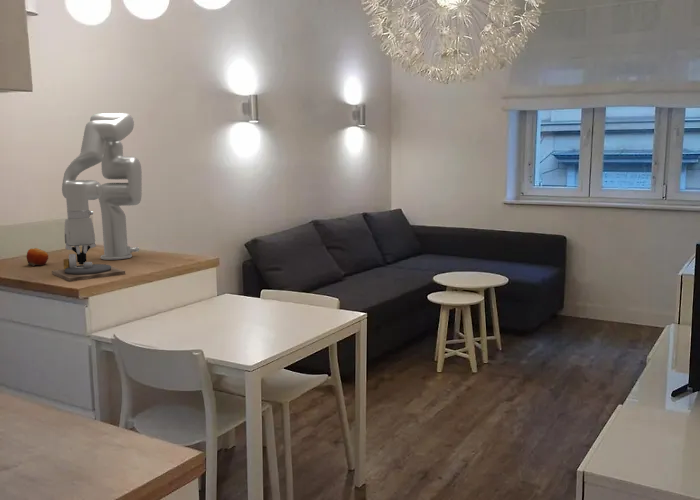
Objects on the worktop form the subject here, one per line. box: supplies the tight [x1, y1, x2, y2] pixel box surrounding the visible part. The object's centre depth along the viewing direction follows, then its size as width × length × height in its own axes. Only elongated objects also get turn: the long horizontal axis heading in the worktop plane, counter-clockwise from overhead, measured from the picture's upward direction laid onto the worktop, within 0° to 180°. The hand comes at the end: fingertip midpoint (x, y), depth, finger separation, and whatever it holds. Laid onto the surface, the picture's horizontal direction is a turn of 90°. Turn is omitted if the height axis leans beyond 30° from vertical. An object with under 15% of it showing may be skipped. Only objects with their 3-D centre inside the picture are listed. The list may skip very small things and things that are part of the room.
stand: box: [51, 258, 127, 282], centre depth 252 cm, size 20×20×5 cm
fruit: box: [26, 247, 49, 268], centre depth 273 cm, size 8×8×8 cm
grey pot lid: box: [65, 253, 112, 275], centre depth 252 cm, size 16×16×6 cm
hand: (82, 263), depth 257 cm, fingers closed
